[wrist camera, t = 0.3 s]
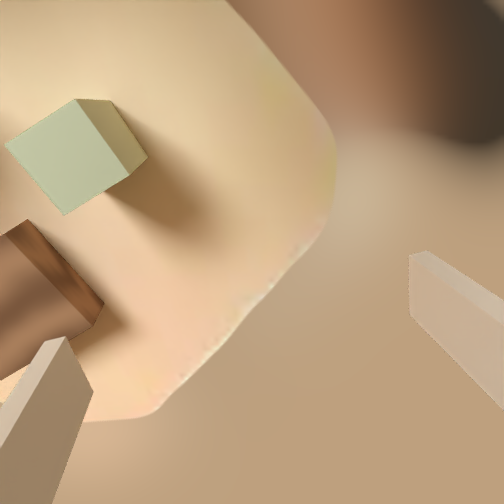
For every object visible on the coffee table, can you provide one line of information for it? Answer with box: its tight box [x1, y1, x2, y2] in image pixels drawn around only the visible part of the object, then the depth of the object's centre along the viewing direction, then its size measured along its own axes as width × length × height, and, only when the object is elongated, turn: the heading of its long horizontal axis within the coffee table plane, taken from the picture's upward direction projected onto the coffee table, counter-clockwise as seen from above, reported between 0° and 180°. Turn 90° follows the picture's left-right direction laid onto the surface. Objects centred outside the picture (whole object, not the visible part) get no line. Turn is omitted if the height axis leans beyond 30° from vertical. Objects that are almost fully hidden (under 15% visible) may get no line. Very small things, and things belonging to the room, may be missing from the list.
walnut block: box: [0, 219, 104, 380], centre depth 37 cm, size 12×12×5 cm
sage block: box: [4, 99, 148, 215], centre depth 30 cm, size 6×6×10 cm
